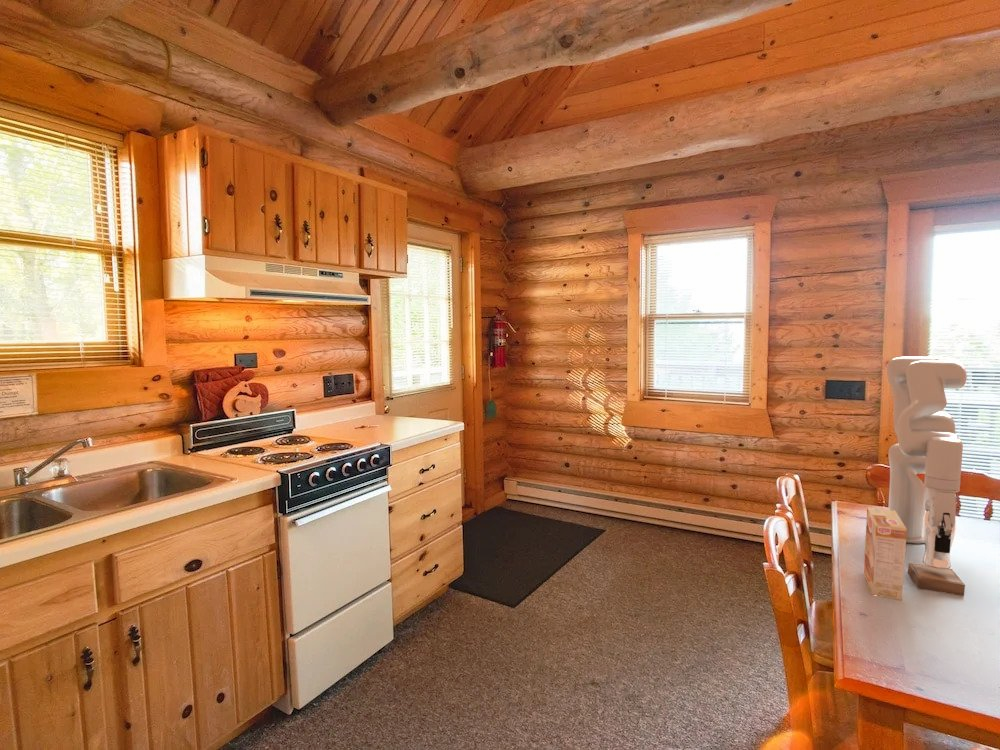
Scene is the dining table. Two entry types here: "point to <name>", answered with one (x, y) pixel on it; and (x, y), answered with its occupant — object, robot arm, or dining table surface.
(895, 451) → the robot arm
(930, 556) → the beer glass
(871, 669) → the dining table surface
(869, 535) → the coffeecake box
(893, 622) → the dining table surface
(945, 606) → the dining table surface
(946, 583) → the oak board
